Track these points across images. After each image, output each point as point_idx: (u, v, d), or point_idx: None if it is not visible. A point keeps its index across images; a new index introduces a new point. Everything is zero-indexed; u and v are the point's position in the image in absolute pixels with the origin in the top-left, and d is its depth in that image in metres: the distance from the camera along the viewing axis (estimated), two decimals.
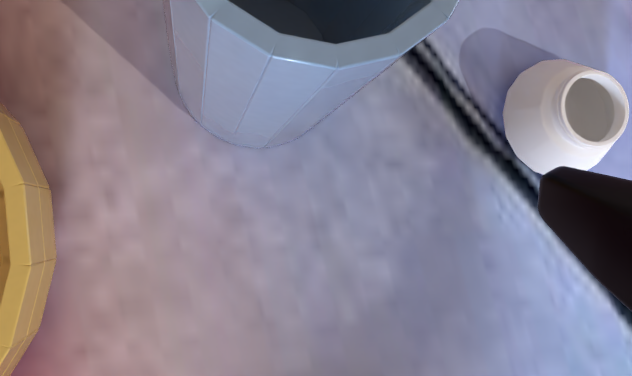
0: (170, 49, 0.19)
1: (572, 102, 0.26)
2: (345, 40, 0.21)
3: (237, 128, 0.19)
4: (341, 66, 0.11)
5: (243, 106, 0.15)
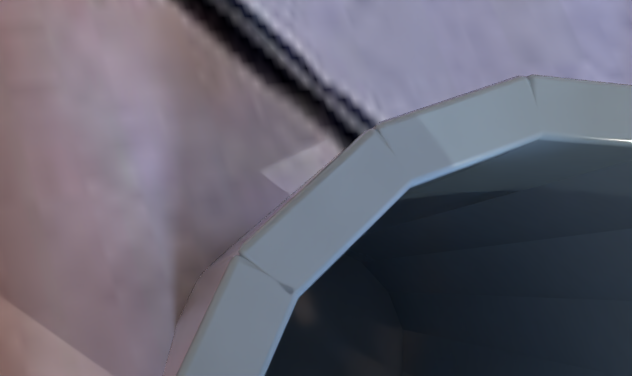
0: None
1: None
2: (441, 335, 0.13)
3: None
4: None
5: None
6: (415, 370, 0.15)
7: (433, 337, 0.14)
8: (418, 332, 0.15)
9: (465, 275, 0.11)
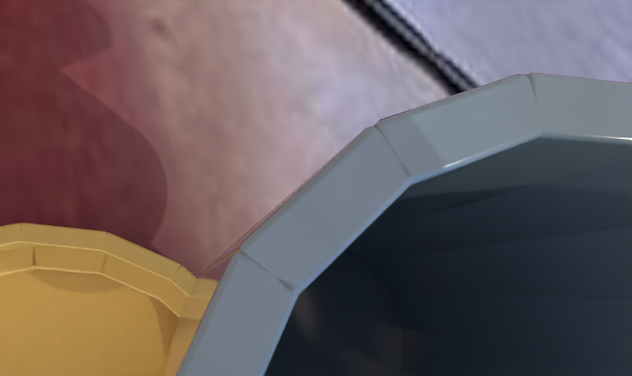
0: None
1: None
2: (441, 335, 0.13)
3: None
4: None
5: None
6: (416, 369, 0.15)
7: (433, 336, 0.14)
8: (418, 332, 0.15)
9: (466, 274, 0.11)
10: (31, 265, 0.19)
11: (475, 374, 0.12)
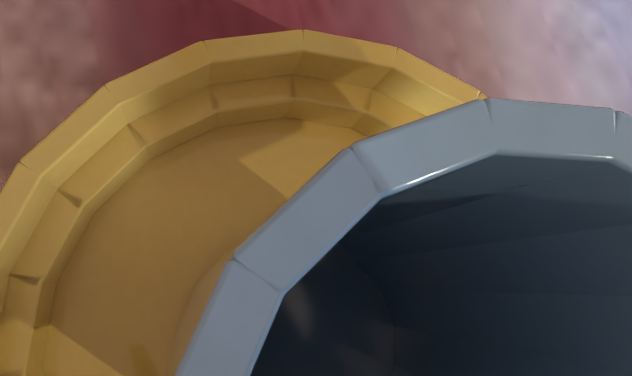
0: None
1: None
2: (430, 331, 0.14)
3: None
4: None
5: None
6: (407, 365, 0.15)
7: (423, 332, 0.14)
8: (408, 329, 0.15)
9: (450, 273, 0.11)
10: (290, 97, 0.16)
11: (461, 368, 0.12)
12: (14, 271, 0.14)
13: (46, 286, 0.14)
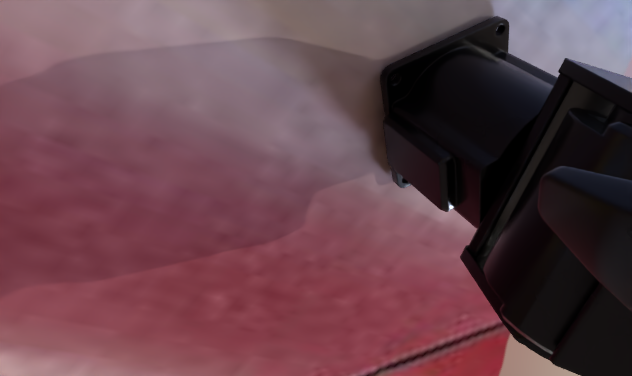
0: None
1: None
2: None
3: None
4: None
5: None
6: None
7: None
8: None
9: None
10: None
11: None
12: None
13: None
